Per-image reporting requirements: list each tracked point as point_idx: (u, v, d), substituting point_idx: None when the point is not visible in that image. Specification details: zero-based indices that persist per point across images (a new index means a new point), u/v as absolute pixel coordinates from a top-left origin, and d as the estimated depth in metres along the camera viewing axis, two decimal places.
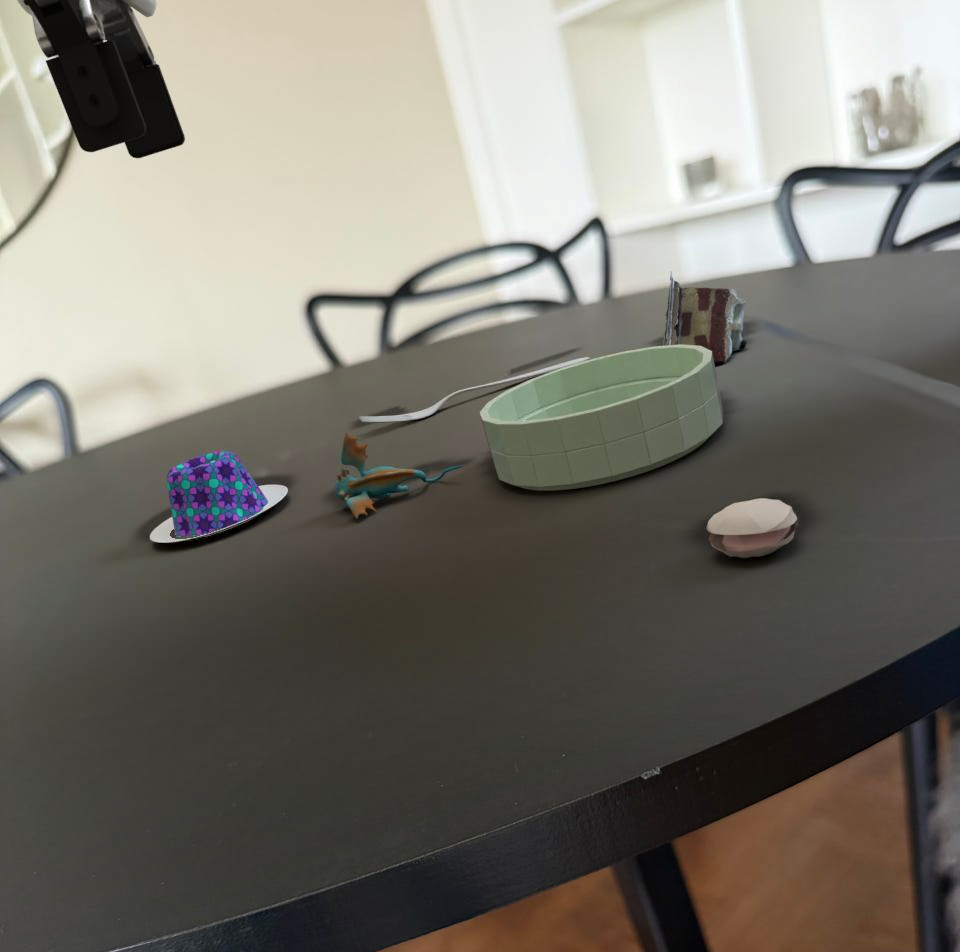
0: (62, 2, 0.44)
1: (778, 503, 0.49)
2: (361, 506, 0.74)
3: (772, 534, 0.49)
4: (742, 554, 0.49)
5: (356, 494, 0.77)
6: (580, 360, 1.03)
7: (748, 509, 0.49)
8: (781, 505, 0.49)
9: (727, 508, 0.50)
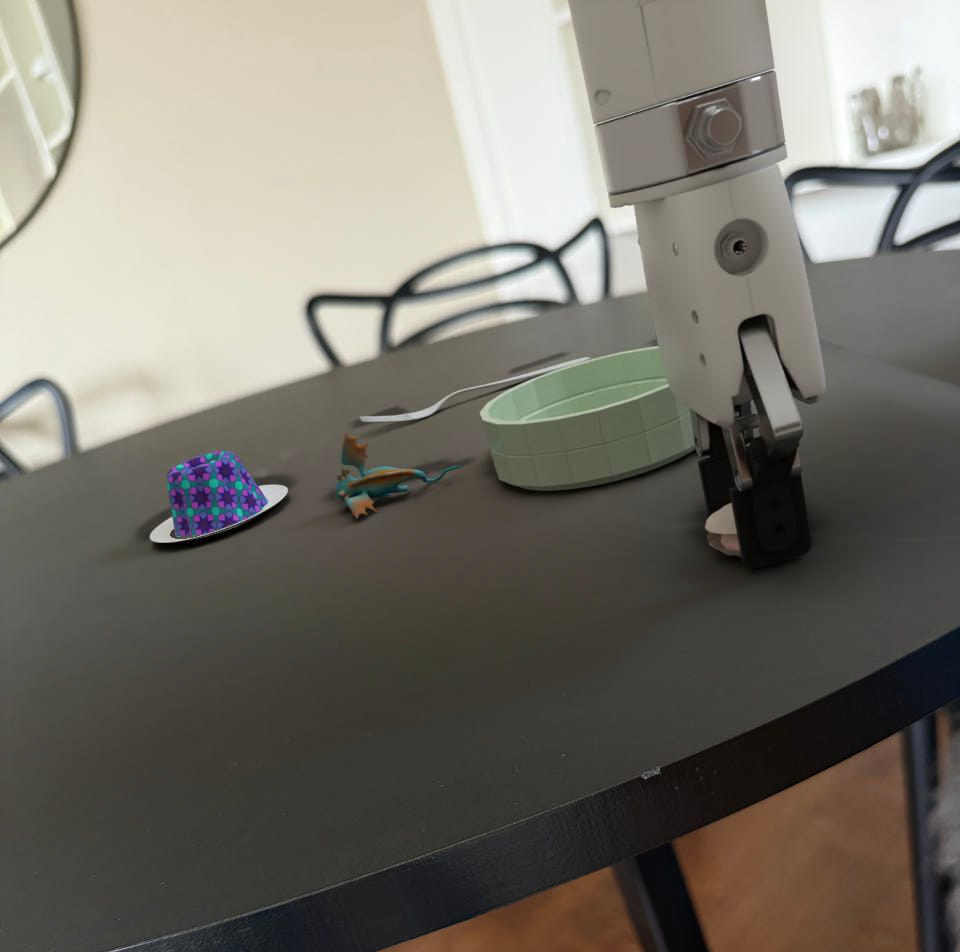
0: (790, 458, 0.44)
1: None
2: (361, 506, 0.74)
3: None
4: (740, 553, 0.49)
5: (356, 494, 0.77)
6: (580, 360, 1.03)
7: None
8: None
9: (725, 507, 0.50)
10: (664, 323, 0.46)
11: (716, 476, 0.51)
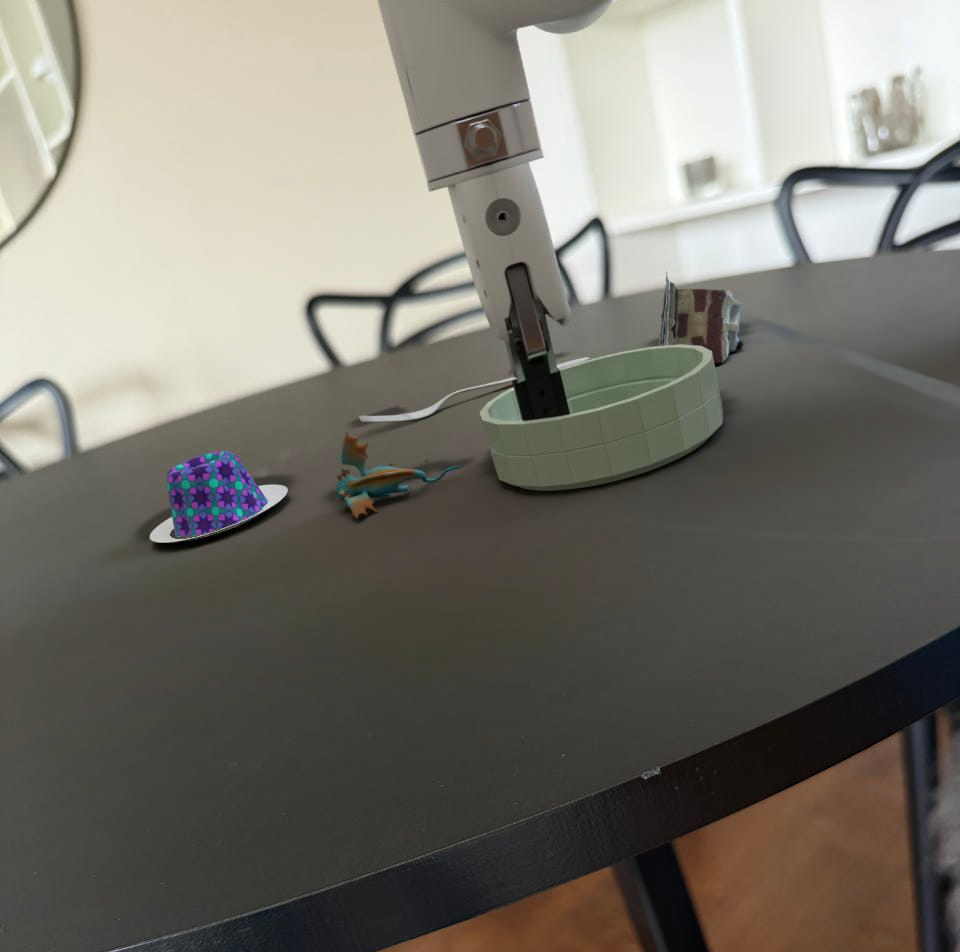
0: (544, 358, 0.67)
1: None
2: (362, 506, 0.74)
3: None
4: None
5: (356, 494, 0.77)
6: (580, 360, 1.03)
7: None
8: None
9: None
10: (471, 272, 0.67)
11: None
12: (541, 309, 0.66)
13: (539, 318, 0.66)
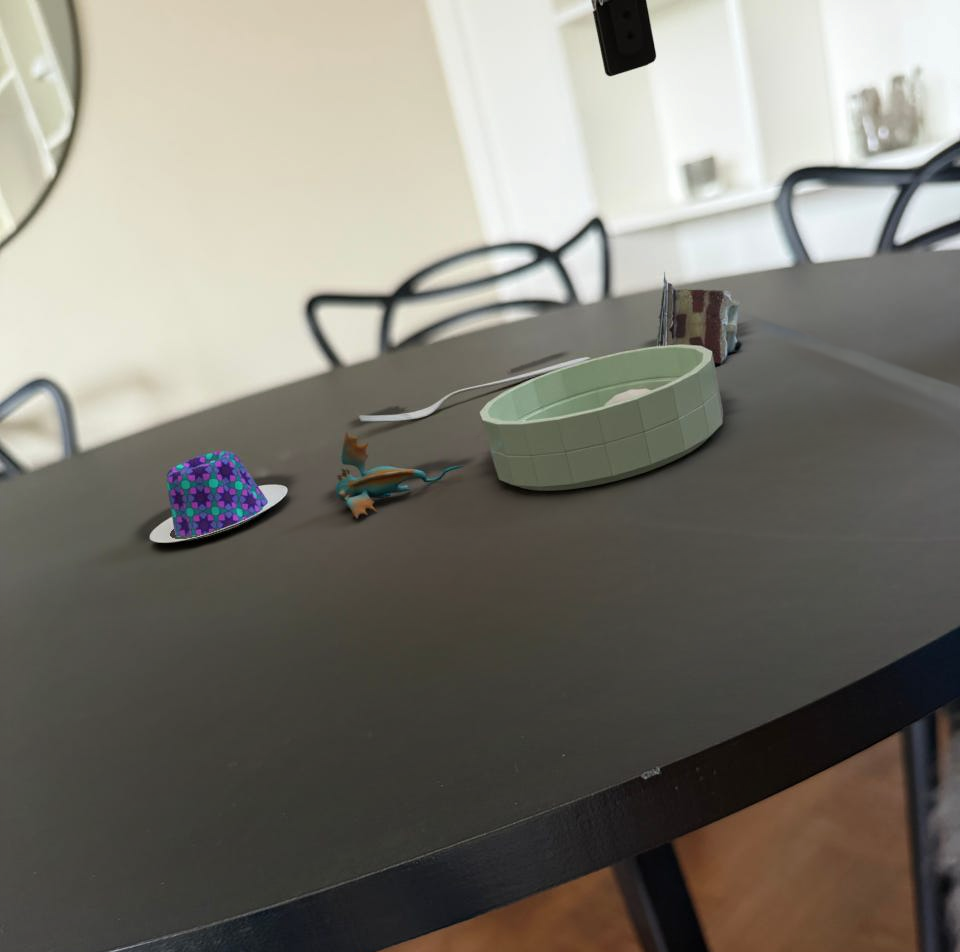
0: None
1: (648, 389, 0.74)
2: (362, 506, 0.75)
3: None
4: None
5: (356, 494, 0.77)
6: (580, 360, 1.03)
7: (632, 392, 0.73)
8: None
9: (616, 396, 0.74)
10: None
11: None
12: None
13: None
